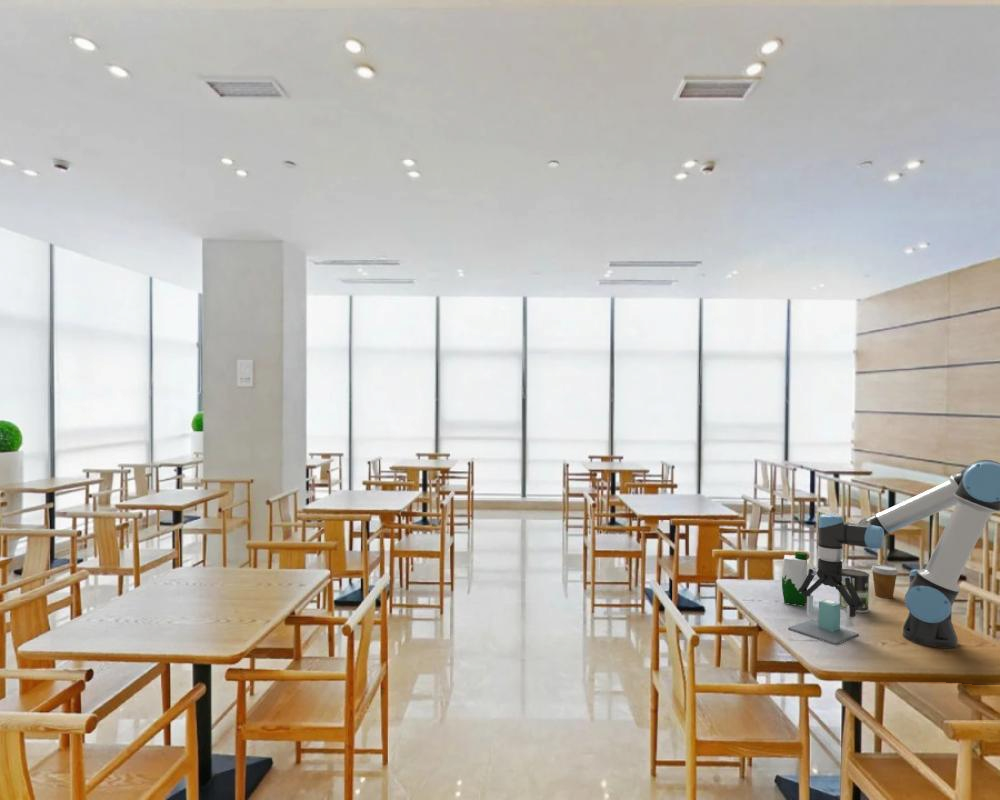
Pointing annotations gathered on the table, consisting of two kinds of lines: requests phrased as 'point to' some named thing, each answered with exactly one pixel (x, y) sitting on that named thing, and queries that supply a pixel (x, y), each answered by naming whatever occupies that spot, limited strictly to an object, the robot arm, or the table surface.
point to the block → (829, 615)
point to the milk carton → (794, 578)
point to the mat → (822, 632)
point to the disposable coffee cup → (884, 580)
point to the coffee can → (857, 588)
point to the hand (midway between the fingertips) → (829, 619)
